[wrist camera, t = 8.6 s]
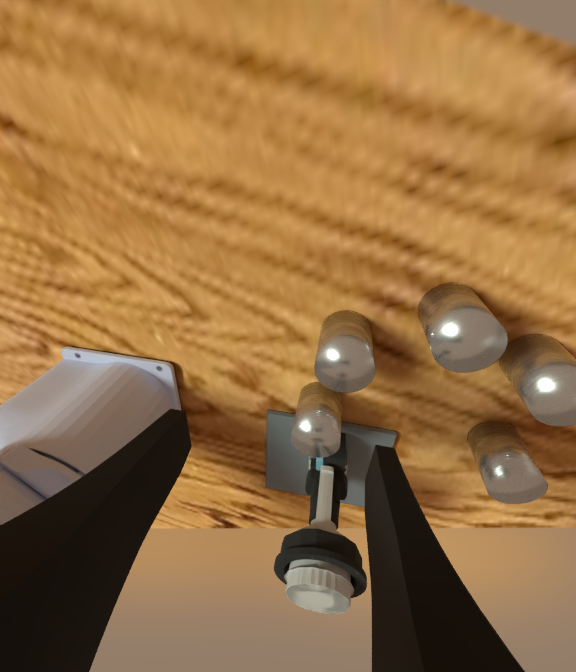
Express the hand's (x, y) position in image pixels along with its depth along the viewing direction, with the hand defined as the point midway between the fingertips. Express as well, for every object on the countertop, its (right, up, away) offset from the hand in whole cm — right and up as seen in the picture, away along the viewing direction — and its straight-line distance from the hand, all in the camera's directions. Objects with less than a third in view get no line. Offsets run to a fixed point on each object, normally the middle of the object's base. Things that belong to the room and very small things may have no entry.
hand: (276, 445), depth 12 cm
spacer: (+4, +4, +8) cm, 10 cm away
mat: (+4, -7, +15) cm, 17 cm away
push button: (+4, -6, +14) cm, 16 cm away
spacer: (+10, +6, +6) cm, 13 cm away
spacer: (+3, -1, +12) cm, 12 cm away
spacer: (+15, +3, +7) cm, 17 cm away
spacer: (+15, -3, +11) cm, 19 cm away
